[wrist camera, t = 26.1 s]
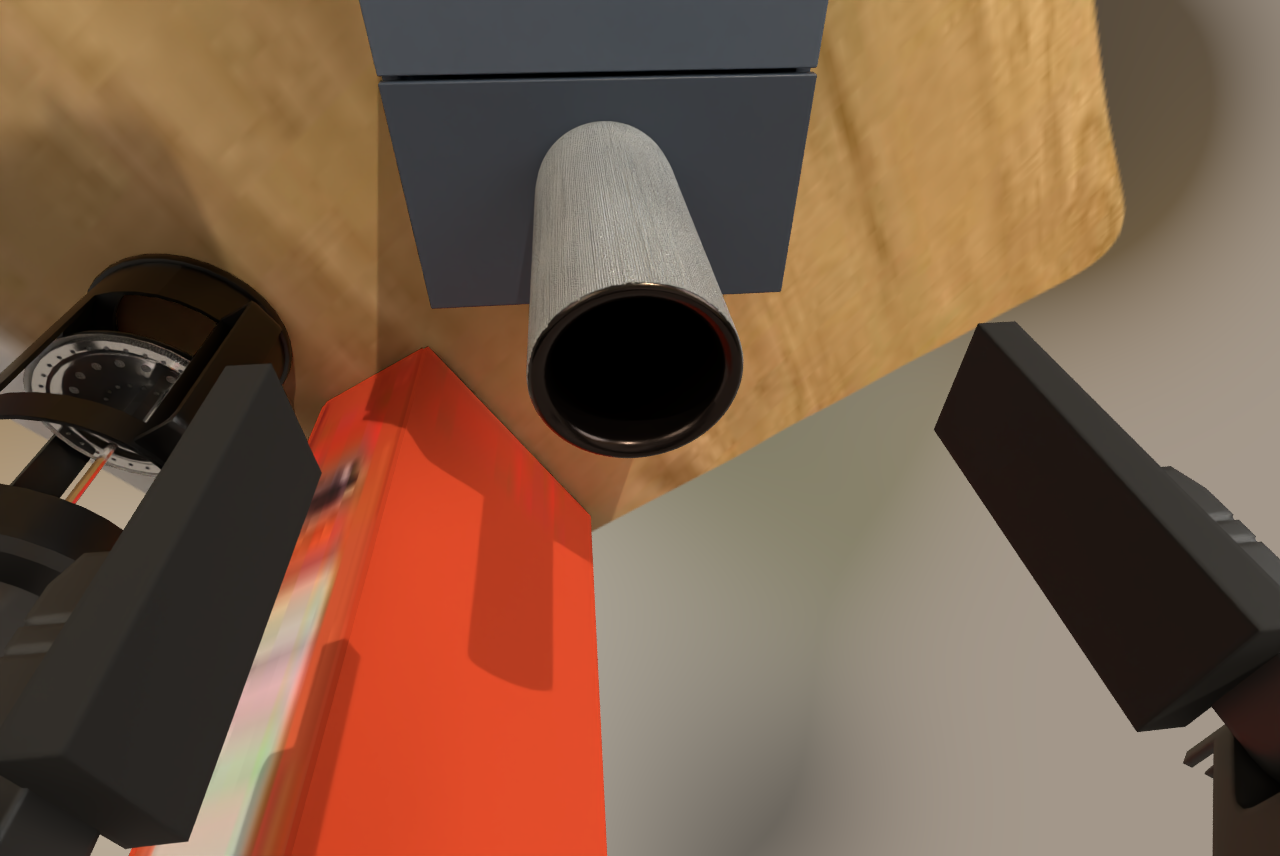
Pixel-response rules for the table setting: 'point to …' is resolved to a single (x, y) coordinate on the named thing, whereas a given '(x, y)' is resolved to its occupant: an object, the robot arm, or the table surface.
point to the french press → (114, 408)
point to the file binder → (419, 649)
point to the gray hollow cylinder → (623, 301)
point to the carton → (558, 102)
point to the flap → (590, 35)
